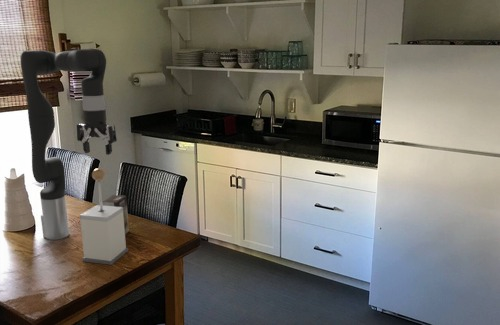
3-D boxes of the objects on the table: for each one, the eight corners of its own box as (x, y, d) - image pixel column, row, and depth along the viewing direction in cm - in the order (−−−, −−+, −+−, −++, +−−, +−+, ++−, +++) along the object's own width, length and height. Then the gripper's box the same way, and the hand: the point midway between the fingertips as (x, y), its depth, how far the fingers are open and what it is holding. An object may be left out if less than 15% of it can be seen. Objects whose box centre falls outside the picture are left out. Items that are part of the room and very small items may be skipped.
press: (82, 261, 173) (77, 215, 169) (104, 244, 187) (100, 201, 183) (111, 264, 170) (107, 218, 166) (131, 247, 184) (128, 204, 180)
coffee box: (119, 239, 192) (116, 202, 188) (105, 238, 193) (101, 201, 189) (129, 231, 200) (126, 195, 196) (115, 230, 202) (112, 194, 198)
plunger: (94, 222, 172) (88, 169, 167) (100, 218, 177) (95, 166, 171) (104, 223, 171) (99, 170, 166) (111, 219, 175) (106, 167, 170)
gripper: (69, 109, 162) (74, 154, 166) (106, 110, 158) (110, 157, 163) (82, 106, 169) (86, 150, 173) (118, 107, 165) (121, 152, 170)
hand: (98, 153), depth 168 cm, fingers open, 8 cm apart
